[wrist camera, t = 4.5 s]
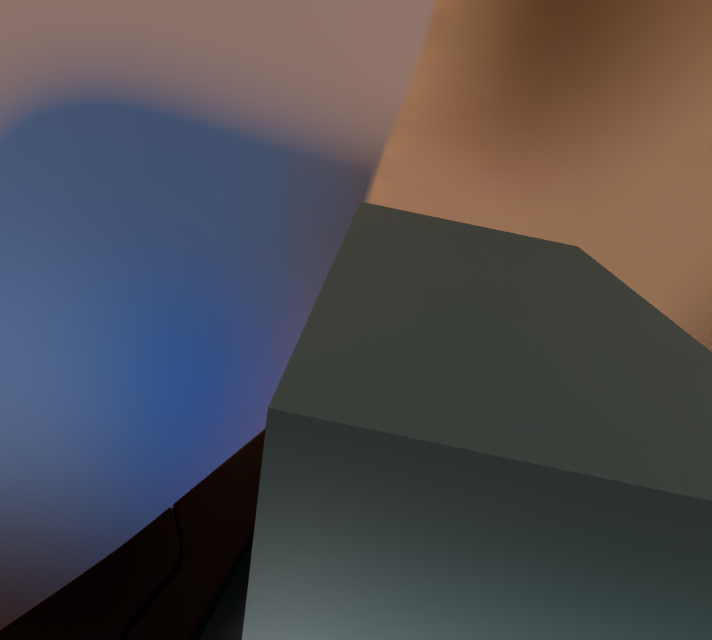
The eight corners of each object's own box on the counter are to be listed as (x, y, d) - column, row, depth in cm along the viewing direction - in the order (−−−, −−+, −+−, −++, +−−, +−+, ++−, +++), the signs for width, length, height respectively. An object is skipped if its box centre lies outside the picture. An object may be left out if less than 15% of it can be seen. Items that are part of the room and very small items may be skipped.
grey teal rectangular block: (453, 535, 11) (498, 917, 6) (304, 504, 11) (217, 856, 6) (578, 246, 8) (967, 554, 2) (360, 201, 8) (269, 408, 2)
